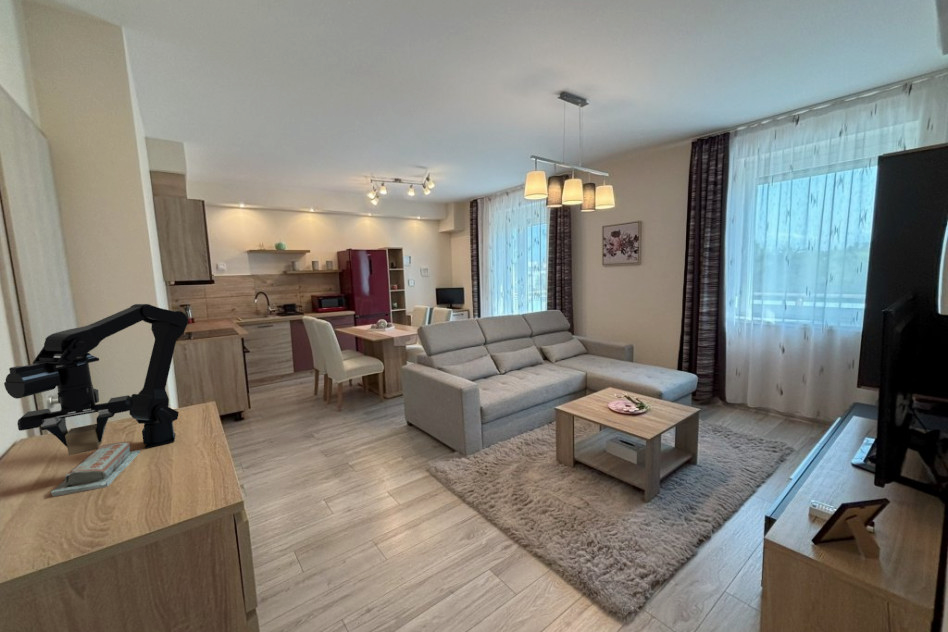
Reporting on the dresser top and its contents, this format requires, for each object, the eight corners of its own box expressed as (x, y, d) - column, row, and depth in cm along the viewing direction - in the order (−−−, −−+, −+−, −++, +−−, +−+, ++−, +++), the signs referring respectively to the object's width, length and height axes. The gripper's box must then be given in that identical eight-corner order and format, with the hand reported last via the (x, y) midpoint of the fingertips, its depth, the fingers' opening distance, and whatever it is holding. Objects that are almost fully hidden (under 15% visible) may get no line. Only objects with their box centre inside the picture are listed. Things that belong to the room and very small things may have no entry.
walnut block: (102, 441, 96) (99, 423, 95) (97, 449, 92) (94, 430, 91) (74, 447, 93) (70, 428, 92) (68, 455, 89) (65, 435, 88)
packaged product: (91, 444, 100) (138, 437, 104) (94, 461, 101) (140, 453, 105) (47, 479, 84) (105, 469, 87) (51, 499, 84) (108, 488, 88)
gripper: (131, 369, 102) (139, 423, 104) (29, 383, 91) (40, 443, 94) (124, 379, 93) (134, 438, 95) (10, 395, 82) (23, 462, 85)
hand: (85, 444), depth 93 cm, fingers closed on walnut block, 5 cm apart
